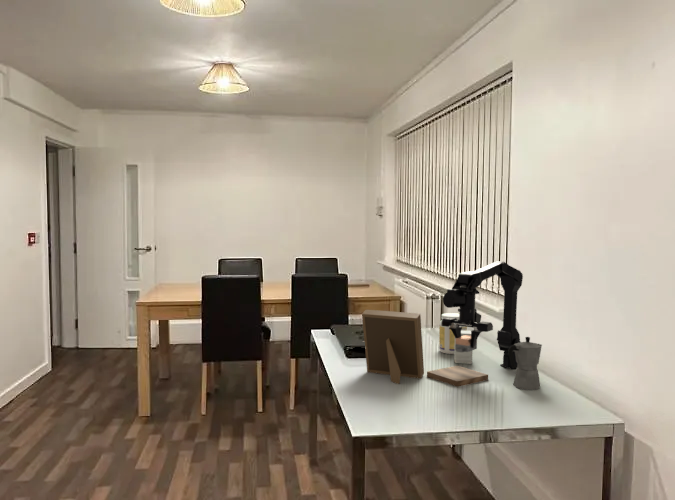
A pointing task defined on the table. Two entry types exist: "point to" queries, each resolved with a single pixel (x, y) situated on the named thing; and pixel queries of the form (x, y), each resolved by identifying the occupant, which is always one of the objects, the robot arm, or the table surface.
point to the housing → (464, 344)
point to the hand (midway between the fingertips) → (466, 346)
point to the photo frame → (393, 343)
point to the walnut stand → (457, 376)
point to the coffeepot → (526, 364)
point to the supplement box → (463, 356)
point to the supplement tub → (448, 335)
